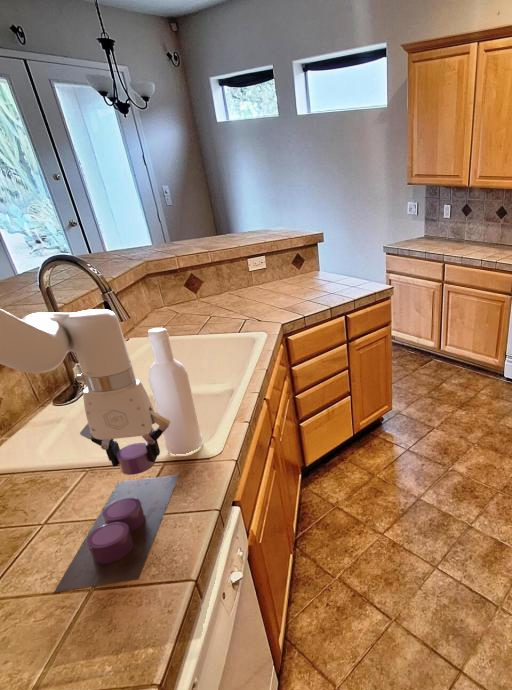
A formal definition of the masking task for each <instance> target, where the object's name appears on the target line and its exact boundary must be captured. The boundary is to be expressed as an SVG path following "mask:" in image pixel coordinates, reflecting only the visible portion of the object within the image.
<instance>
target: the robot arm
mask: <svg viewBox="0 0 512 690" xmlns="http://www.w3.org/2000/svg"><path fill="white" fill-rule="evenodd" d="M70 352H73V353H75V355H76V358H77V361H78V364H79V367H80V369H81V372H82V373H81V374H76V376H75V380H76V382H77V383H84V385H85V388H84V389H83V390H82V394H83V396H82V397H83V405H84V412H85V416H86V420H87V423H86V425H85V426H84V427H83V429H81V431H80V432H79V435H80V436H82V437H84V438H86V439H88V440H90V441H91V442H92V443H94V444H96V445H97V446H99V447H100V448H101V449H102V450H104V451H105V453H106V455H107V459H108V461H109V462H111V465H112V467H113V468H115V467H118V466H119V463H118V460H117V457H116V454H117V452H118V451H119V450H120V449H121V448H120V445H119V442H118V441H116V439H126V438H137V437H142V438H143V440H144V441H145V443H147V445H146V449H147V453H148V456H149V459H150V462H155V463H156V460H157V458H158V456H160V454H161V449H160V446H159V442H158V439H159V438H160V437H161V436H163V432H164V431H165V430H166V429H167V428H168V427H169V425H170V421H169V420H167V419H165V418H164V417H162V416H160V415H159V414H157V412H155V409H154V408H153V405H152V402H151V399H150V397H149V395H148V392H147V390H146V389H145V387H144V385H143V383H142V382H141V380H140V379H139V378H138V379H136V375H135V372H134V368H133V365H132V362H131V358H130V353H129V352H128V347H127V345H126V340H125V337H124V334H123V330H122V326H121V324H120V321H119V317H118V315H117V314H116V313H115V312H114V311H112V310H110V309H104V308H102V309H101V308H94V309H86V310H81V311H77V312H33V313H31V314H27V315H25V316H24V317H22V318H19V317H17V316H16V315H14V314H11V313H10V312H7V311H6V310H4V309H2V308H0V365H1V366H4V367H7V368H9V369H12V370H15V371H18V372H22V373H27V374H44V373H48V372H51V371H53V370H55V369H56V368H58V367H59V366H60V365H61V364H62V363H63V361H64V360H65V358H66V356H67V354H68V353H70ZM155 424H157V425H158V427H156V429H154V427H153V425H155Z"/></svg>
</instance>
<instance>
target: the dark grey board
mask: <svg viewBox="0 0 512 690" xmlns="http://www.w3.org/2000/svg"><path fill="white" fill-rule="evenodd" d="M179 478H180V474H175V475H174V474H173V475H165V476H158V477H149V478H142V479H141V478H140V479H131V480H124V481H118V482H117V483H116V486H115V487H114V489H113V490H112V492H111V493H110V496H109V497H108V498H107V501H106V502H105V504H104V506H103V507H102V509H101V510H100V512H99V514H98V516H97V517H96V519H95V521H94V523H93V525H92V526H91V528H90V529H89V531H88V533H87V535H86V537H85V538H84V540H83V541H82V543H81V544H80V547H79V549H78V550H77V552H76V554H75V555H74V557H73V558H72V560H71V562H70V564H69V565H68V566H67V569H66V571H65V572H64V574H63V576H62V577H61V579H60V580H59V582H58V584H57V585H56V587H55V589H54V591H53V594H54V593H62V592H67V591H74V590H80V589H88V588H91V587H92V588H93V587H99V586H104V585H105V586H106V585H110V584H111V585H112V584H118V583H125V582H131V581H137V580H139V579H140V577H141V575H142V572H143V570H144V567H145V565H146V562H147V560H148V557H149V554H150V552H151V549H152V547H153V544H154V541H155V539H156V536H157V534H158V531H159V528H160V526H161V523H162V522H163V521H162V520H163V518H164V516H165V513H166V511H167V508H168V505H169V503H170V501H171V498H172V495H173V493H174V490H175V488H176V485H177V482H178V480H179ZM125 498H136V499H138V500H140V502H141V505H142V508H143V511H144V515H145V522H144V523H143V524H142V526H140V527H139V528H138V529H136V530H135V531H133V532H131V536H132V539H133V541H134V546H133V548H132V550H131V551H130V552H129V553H128V554H127V555H126V556H125V557H123V558H122V559H120V560H118V561H115V562H112V563H108V564H99V563H97V562H95V561H94V559H93V557H92V554H91V552H90V549H89V547H88V545H87V539H88V537H89V536H90V535H91V534H92V533H93V532H94V531H95V530H96V529H98V528H100V527H102V526H104V525H106V523H105V521H104V518H103V511H104V510H105V509H106V507H108V506H109V505H110V504H112V503H114V502H116V501H118V500H121V499H125Z"/></svg>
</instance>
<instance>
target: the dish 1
mask: <svg viewBox="0 0 512 690" xmlns="http://www.w3.org/2000/svg"><path fill="white" fill-rule="evenodd" d="M87 545H88V547H89V549H90V552H91V554H92V557H93V559H94V561H95V562H97V563H99V564H108V563H112V562H115V561H118V560H120V559H122V558H123V557H125V556H126V555H127V554H128V553H129V552H130V551H131V550H132V548H133V546H134V541H133V539H132V536H131V533H130V530H129V527H128V525H127V524H125V523H122V522H114V523H109V524H106V525H104V526H102V527H100V528H98V529H96V530H95V531H94V532H93V533H92V534H91V535H90V536H89V537H88V539H87Z"/></svg>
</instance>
